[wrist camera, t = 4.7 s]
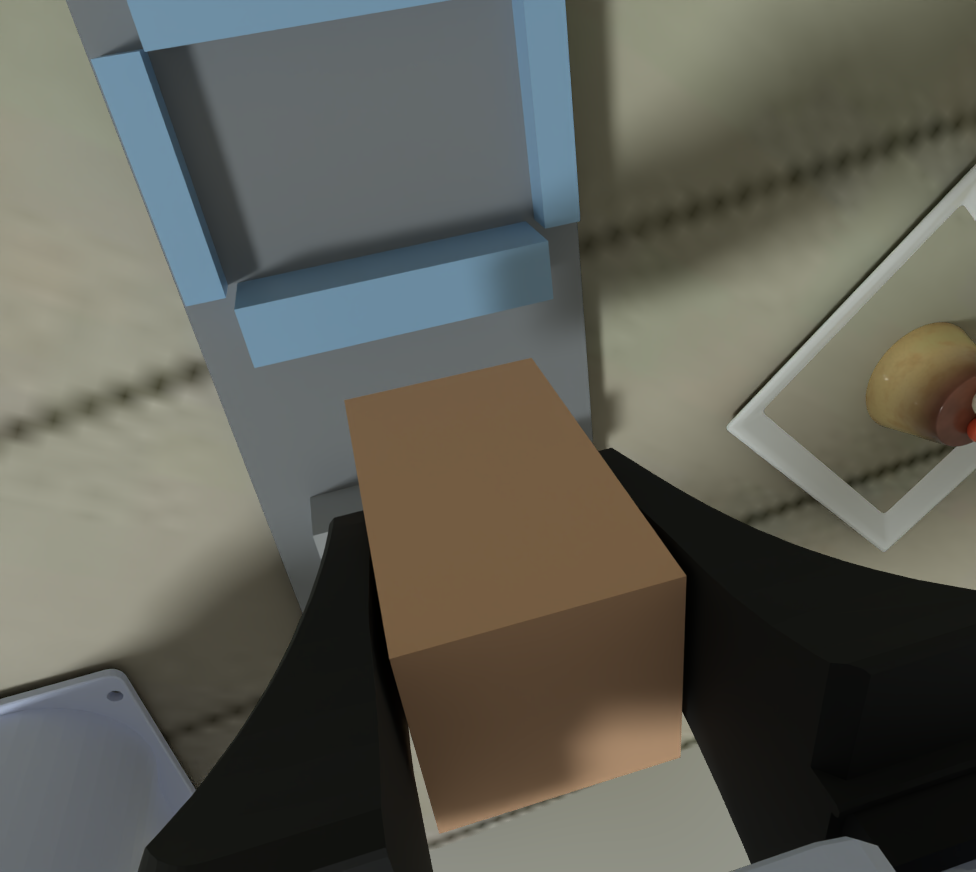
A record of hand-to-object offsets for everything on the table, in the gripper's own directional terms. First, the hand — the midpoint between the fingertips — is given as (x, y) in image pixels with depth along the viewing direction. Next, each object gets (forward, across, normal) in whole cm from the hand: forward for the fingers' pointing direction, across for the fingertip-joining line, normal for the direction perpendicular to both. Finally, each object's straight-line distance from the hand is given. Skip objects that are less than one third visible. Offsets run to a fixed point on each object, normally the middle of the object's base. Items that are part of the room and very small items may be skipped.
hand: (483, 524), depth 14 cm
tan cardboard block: (+3, 0, 0) cm, 3 cm away
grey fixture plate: (+10, 0, +2) cm, 10 cm away
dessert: (+11, -19, +7) cm, 23 cm away
